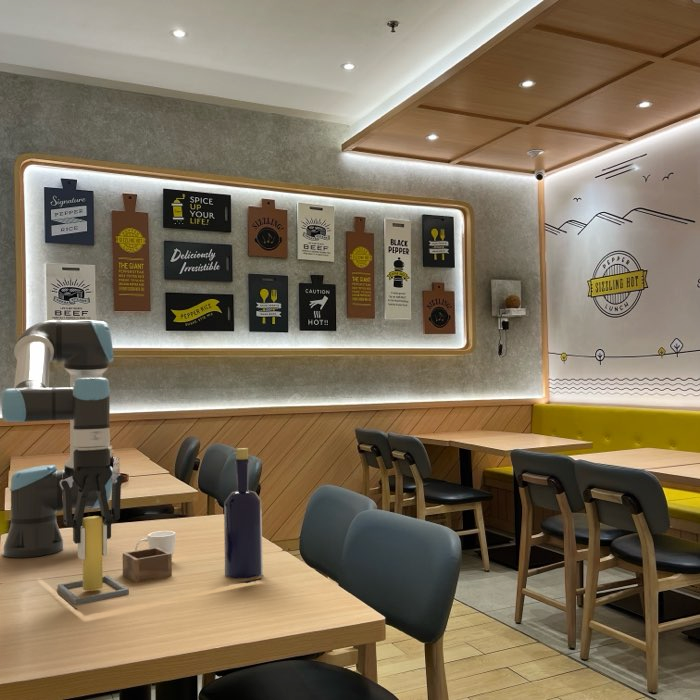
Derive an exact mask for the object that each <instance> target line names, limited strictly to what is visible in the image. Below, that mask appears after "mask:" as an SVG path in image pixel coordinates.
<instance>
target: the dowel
mask: <svg viewBox="0 0 700 700" xmlns="http://www.w3.org/2000/svg"><path fill="white" fill-rule="evenodd" d="M102 523H103V519H102V515H101V516H99V515H93V516H86V517H83V520H82V527H83V528H85V559H82V580H83V586H82V590H83V591H86V592H87V591H96V590H100V589H102V588H103V582H102V576H103V555H102Z"/></svg>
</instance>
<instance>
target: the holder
mask: <svg viewBox="0 0 700 700" xmlns="http://www.w3.org/2000/svg"><path fill="white" fill-rule="evenodd" d="M172 558H173V556H172V554H171V553H169V552H167V551H165V550H163V549H160V548H158V547H156V548H150V549H149V548H144V549H140V550H139V549H138V550H136V551H135V550H134V551H128V552H122V576H123V577H126V578H127V579H129V580H130V581H132V582H133V583H140V582H146V581H150V580H157V579H162V578H166V577H171V576H173V573H172V572H173V568H172V566H173V565H172V564H173V563H172V560H173V559H172Z"/></svg>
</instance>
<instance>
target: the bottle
mask: <svg viewBox="0 0 700 700" xmlns="http://www.w3.org/2000/svg"><path fill="white" fill-rule="evenodd" d="M235 457H236V458H235V460H234V462H235V464H236V465H235V466H236V489H237V490H235V491H232V492H231V493H230V494H229V495H228V496H227V498H226V499H225V501H224V502H223V506H224V507H223V510H224V511H223V512H224V513H223V515H224V516H223V518H224V519H223V520H224V523H223V525H224V526H223V527H224V528H223V529H224V576H225V577H227V578H231V579H249V580H245V581H240V582H238V584H240V583H242V584H243V583H244V584H246V583H247V584H248V583H253V582H256V581H257V582H258V581H261V580H262V577H264V574H263V573H264V571H263V567H264V566H263V565H264V564H263V523H262V522H263V518H262V516H263V513H262V511H263V510H262V508H263V507H262V498H261V497H260V496H259V495H258V494H257V492H255V491H252V490H249V463H250V458H249V447H243V448H242V447H239V448H236V449H235ZM258 576H261V577H260V578H254V577H258ZM250 578H254V579H250Z"/></svg>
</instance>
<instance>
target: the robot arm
mask: <svg viewBox="0 0 700 700" xmlns="http://www.w3.org/2000/svg"><path fill="white" fill-rule="evenodd" d="M13 351H14V352H13V353H14V354H13V355H14V357H15V359H16V368H15V376H14V384H13V387H12V388H6V389H3V391H2V393H1V394H2V395H1V417H2V420H3V421H5V422H8V423H9V422H12V423H18V422H19V423H26V422H27V423H28V422H45V421H46V422H48V421H49V422H50V421H69V422H70V423H69V426H70V427H69V428H70V429H69V431H70V432H69V433H70V434H69V437H70V439H69V440H70V441H69V445H70V446H69V447H70V448H69V453H70V455H69V456H70V457H69V458H68V459H67V460H66V461H65V462H64V468H63V469H58V467H57V465H55V464H47V465H46V464H45V465H38V466H35V467H29V468H26V469H21V470H18V471H16V472H14V473H13V474H12V476H11V479H10V489H9V492H10V527H9V530H8V533H7V536H6V538H5V539H6V540H5V542H4V544H3V556H4V557H7V558H13V559H14V558H16V559H17V558H20V559H21V558H22V559H24V558H33V557H42V556H47V555H52V554H55V553H58V552H60V551H62V550H63V549H64V540H63V536H62V533H61V531H60V527H59V525H58V522H57V512H62V514H63V525H65V526H67V527H69V528H72V541H73V543H74V544H76V545H77V558H79V559H80V560H83V559H85V528H83V518H84V514H85V510H93V509H99V508H100V514H101V517H102V557H106V556H108V540H111V538H112V524H113V523H114V522H116V521H118V520H120V518H121V494H122V493H121V492H122V491H121V489H122V484H123V481H124V479H125V476H124V475H123V474H119V473H118V474H117V473H114V468H113V467H112V466H111V449H110V448H109V446H110V444H111V440H110V439H111V434H110V432H111V431H110V409H111V408H110V403H111V401H110V395H111V391H110V390H111V389H110V381H109V379H108V378H107V377H103V375H104V373H105V372H106V371H107V370H108V369H109V363H111V362H114V358H115V357H114V348H113V340H112V336H111V330H110V326H109V324H108V322H106V321H103V320H95V319H94V320H93V319H78V320H77V319H76V320H75V319H74V320H69V319H68V320H64V319H63V320H62V319H61V320H59V319H49V320H45V321H44V320H43V321H40V322H38V323H35V324H34V325H32V326H30V327H28V328H27V329H25V330H24V331H23V332H22V333H21V334H20V335H19V337H18V338H17V340H16V342H15V344H14V350H13ZM50 363H63V365H64V366H63V368H64V370H65V371H66V372H67V373H68V374H69V376H70V377H69V387H67V386H66V387H49V386H50ZM110 499H111V503H110ZM109 503H110V505H111V506H109ZM73 511H74V515H73Z"/></svg>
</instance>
